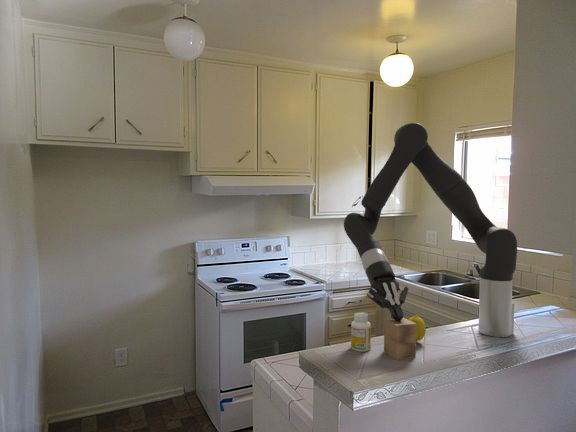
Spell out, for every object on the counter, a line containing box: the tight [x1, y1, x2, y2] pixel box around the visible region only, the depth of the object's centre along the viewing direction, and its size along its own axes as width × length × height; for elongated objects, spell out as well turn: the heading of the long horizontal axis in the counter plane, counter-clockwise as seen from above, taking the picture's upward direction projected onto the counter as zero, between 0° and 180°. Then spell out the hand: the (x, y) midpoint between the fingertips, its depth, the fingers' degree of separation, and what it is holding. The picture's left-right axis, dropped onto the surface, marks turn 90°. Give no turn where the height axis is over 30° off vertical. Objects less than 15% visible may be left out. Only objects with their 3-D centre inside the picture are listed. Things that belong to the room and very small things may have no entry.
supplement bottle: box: [350, 312, 372, 353], centre depth 119 cm, size 5×5×10 cm
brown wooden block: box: [383, 317, 417, 360], centre depth 115 cm, size 6×6×9 cm
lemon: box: [408, 314, 427, 343], centre depth 125 cm, size 6×6×8 cm
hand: (399, 319), depth 115 cm, fingers closed
